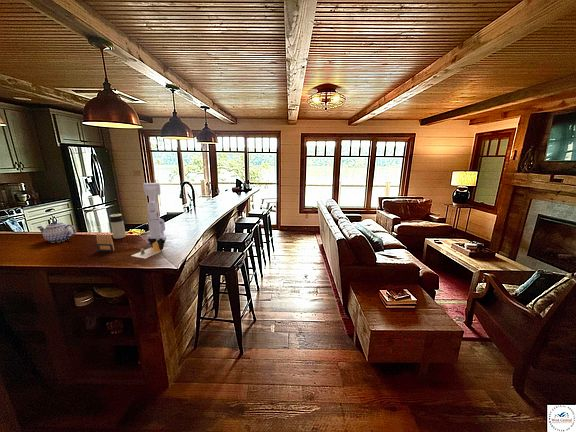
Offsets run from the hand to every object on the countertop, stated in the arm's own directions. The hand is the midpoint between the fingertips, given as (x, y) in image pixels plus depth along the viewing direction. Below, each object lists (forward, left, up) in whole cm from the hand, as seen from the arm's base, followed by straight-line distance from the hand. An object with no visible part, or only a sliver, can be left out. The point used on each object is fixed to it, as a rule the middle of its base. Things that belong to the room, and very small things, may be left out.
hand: (158, 248), depth 151 cm
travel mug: (-52, +12, -2) cm, 53 cm away
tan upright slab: (-34, -10, -2) cm, 36 cm away
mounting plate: (-2, -4, -2) cm, 5 cm away
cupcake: (0, 0, -1) cm, 1 cm away
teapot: (-87, -8, -2) cm, 87 cm away
